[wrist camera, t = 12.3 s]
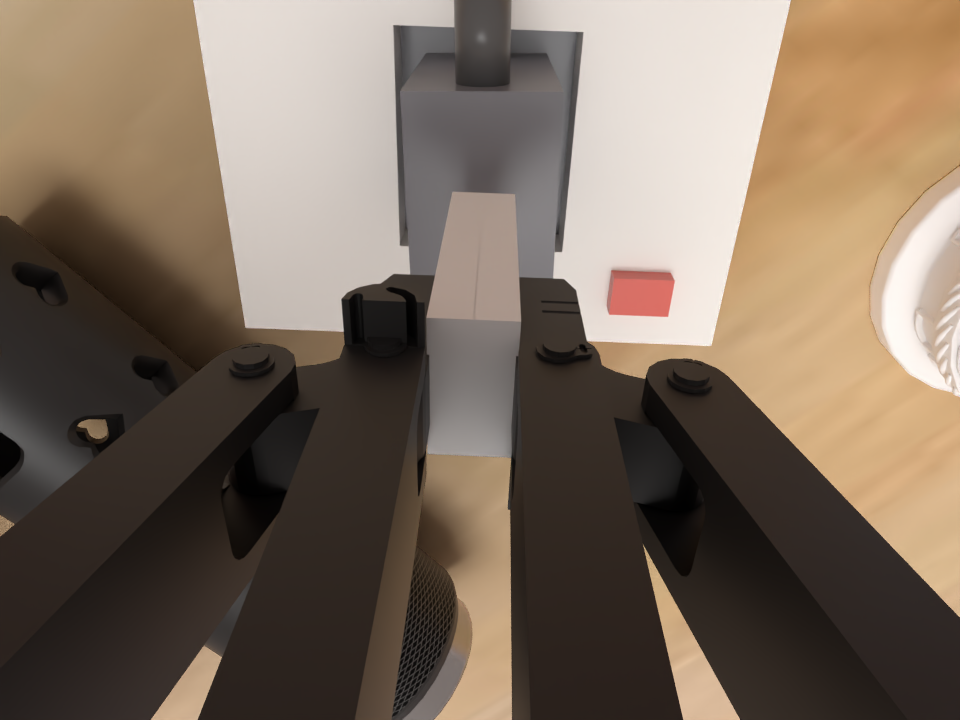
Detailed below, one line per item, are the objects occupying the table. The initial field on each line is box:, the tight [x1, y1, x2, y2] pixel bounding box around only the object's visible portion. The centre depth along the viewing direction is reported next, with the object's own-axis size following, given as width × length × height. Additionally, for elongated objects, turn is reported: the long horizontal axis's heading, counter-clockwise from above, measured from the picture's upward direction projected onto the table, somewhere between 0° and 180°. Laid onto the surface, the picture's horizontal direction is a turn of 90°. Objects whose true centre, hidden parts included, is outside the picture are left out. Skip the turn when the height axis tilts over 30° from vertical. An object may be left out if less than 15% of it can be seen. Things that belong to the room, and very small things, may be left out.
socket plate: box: [193, 0, 791, 346], centre depth 27 cm, size 20×16×3 cm
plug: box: [400, 0, 564, 278], centre depth 23 cm, size 8×4×8 cm, turn 0°
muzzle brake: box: [0, 216, 472, 720], centre depth 32 cm, size 10×28×10 cm, turn 40°
